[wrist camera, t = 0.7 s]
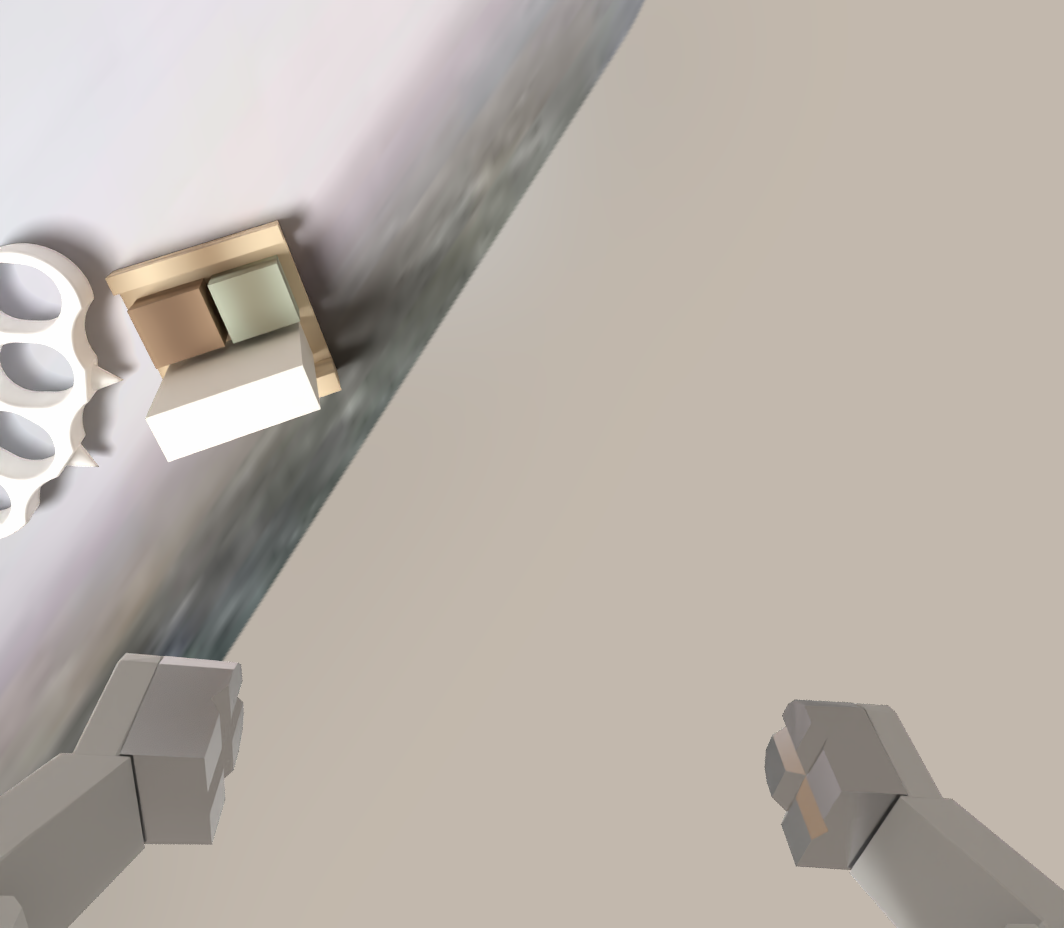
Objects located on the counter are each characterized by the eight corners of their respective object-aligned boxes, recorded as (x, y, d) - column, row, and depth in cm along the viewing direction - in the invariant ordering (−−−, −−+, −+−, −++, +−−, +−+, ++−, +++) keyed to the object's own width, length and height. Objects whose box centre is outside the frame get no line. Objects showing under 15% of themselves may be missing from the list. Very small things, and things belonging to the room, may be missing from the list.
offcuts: (164, 353, 49) (156, 369, 46) (137, 298, 48) (127, 311, 44) (299, 309, 50) (300, 321, 47) (276, 254, 49) (276, 263, 46)
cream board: (189, 396, 50) (168, 462, 41) (171, 359, 49) (145, 418, 40) (312, 354, 52) (320, 408, 42) (298, 317, 51) (302, 365, 41)
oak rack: (187, 420, 52) (180, 445, 48) (113, 271, 48) (97, 285, 44) (336, 369, 53) (341, 389, 49) (277, 220, 49) (277, 229, 45)
